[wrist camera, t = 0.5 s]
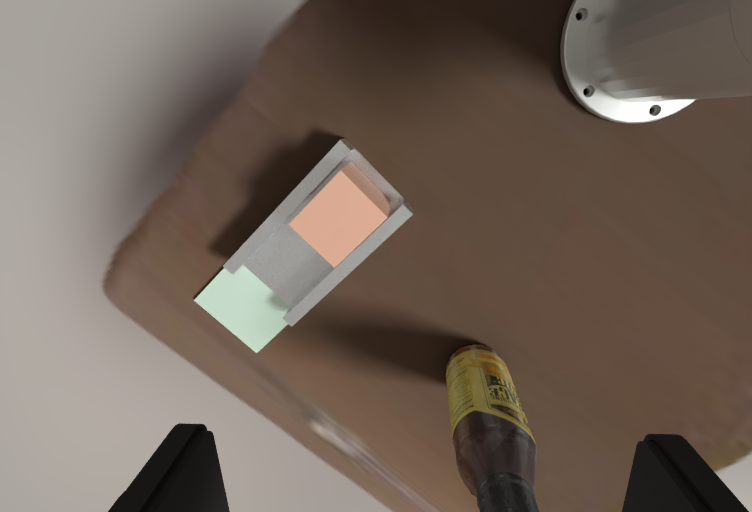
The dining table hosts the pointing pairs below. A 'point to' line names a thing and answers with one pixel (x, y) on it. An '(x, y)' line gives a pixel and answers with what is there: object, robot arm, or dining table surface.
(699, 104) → the dining table surface
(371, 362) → the dining table surface
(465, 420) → the sauce bottle
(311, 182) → the chute
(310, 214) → the block
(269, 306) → the pad
